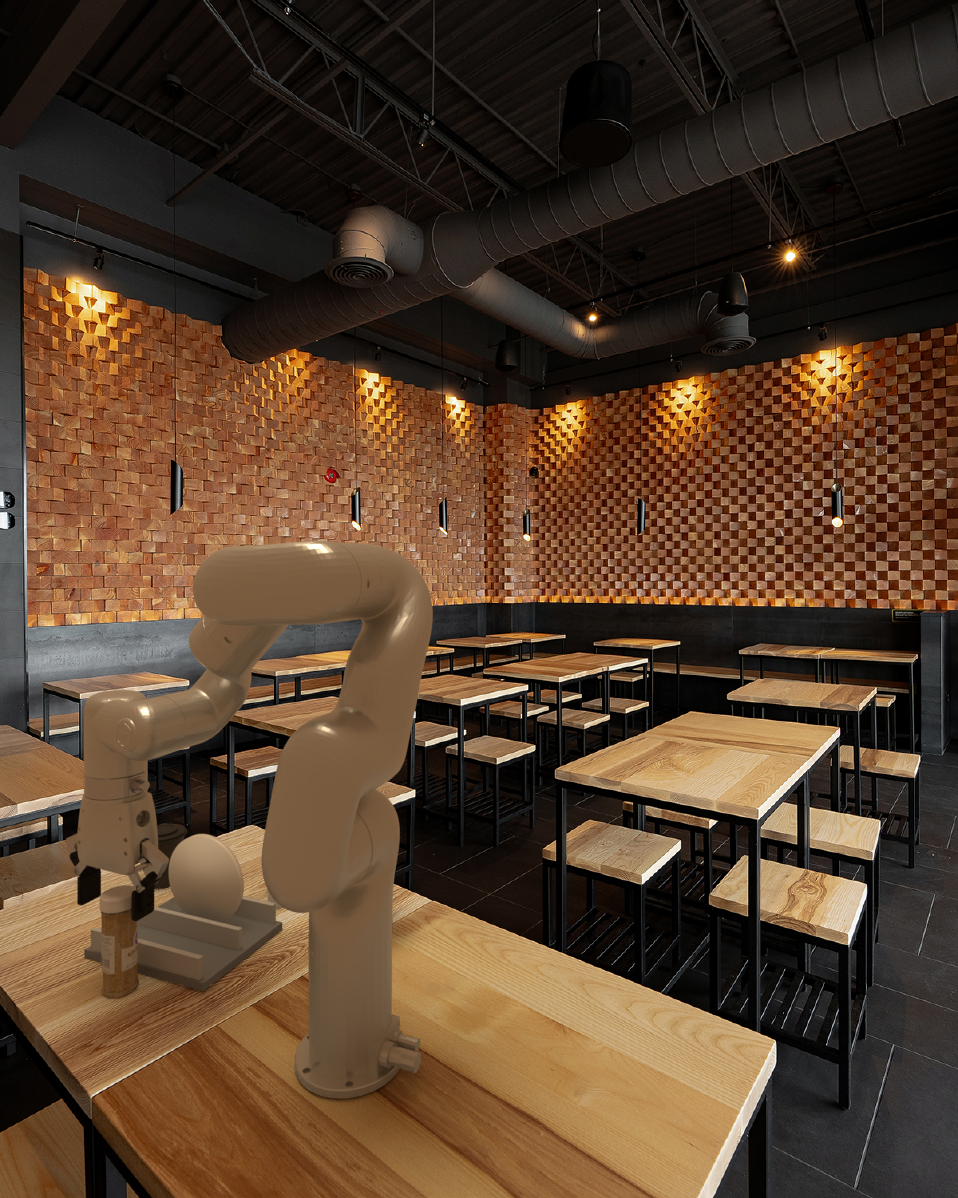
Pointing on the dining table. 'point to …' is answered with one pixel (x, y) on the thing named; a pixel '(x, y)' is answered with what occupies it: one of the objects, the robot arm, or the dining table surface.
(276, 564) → the robot arm
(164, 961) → the dish rack
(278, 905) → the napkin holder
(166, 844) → the dark brown tapered cylinder
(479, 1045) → the dining table surface
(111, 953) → the sprinkles bottle
